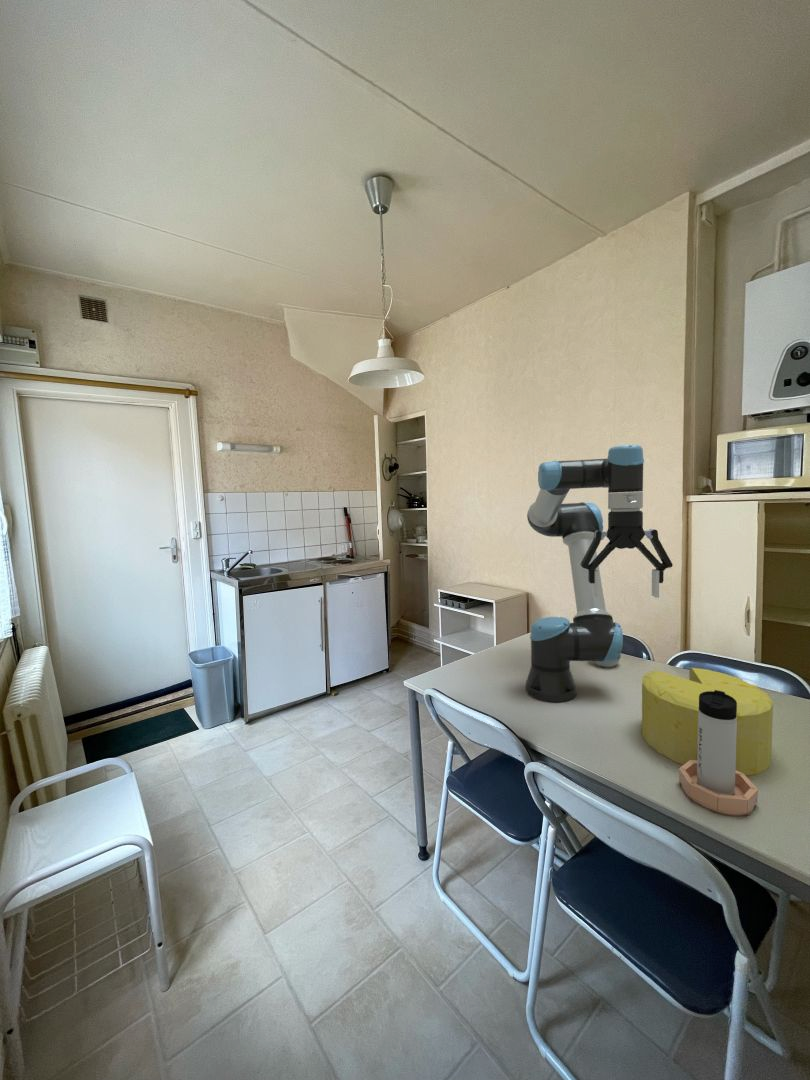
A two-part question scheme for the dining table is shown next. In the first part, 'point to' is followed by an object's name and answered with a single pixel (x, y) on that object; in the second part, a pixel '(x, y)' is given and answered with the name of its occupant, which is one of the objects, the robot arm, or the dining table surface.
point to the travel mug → (717, 742)
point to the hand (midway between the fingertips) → (625, 596)
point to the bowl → (717, 802)
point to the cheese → (676, 716)
